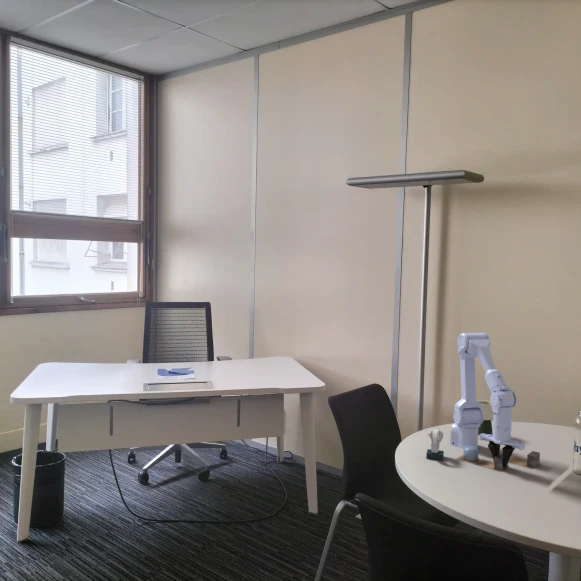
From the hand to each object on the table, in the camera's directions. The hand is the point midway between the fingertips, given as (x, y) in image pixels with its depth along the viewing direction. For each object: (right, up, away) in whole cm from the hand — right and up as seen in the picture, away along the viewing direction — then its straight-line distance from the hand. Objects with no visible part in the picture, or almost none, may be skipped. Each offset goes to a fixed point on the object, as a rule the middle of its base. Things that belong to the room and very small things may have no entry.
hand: (500, 465), depth 186 cm
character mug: (+8, 0, +38) cm, 39 cm away
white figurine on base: (-20, -1, +9) cm, 22 cm away
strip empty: (+7, -1, +7) cm, 10 cm away
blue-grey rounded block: (-8, 0, +7) cm, 11 cm away
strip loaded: (-5, -2, +5) cm, 7 cm away
